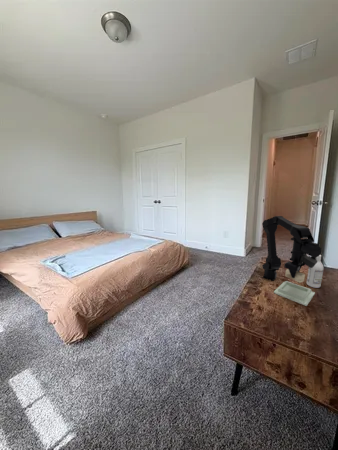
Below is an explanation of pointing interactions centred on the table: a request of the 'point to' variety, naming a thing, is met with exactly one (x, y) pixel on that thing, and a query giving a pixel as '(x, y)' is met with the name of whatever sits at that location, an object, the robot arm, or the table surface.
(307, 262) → the robot arm
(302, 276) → the peg
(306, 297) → the socket board
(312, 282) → the bath foam
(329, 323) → the table surface
